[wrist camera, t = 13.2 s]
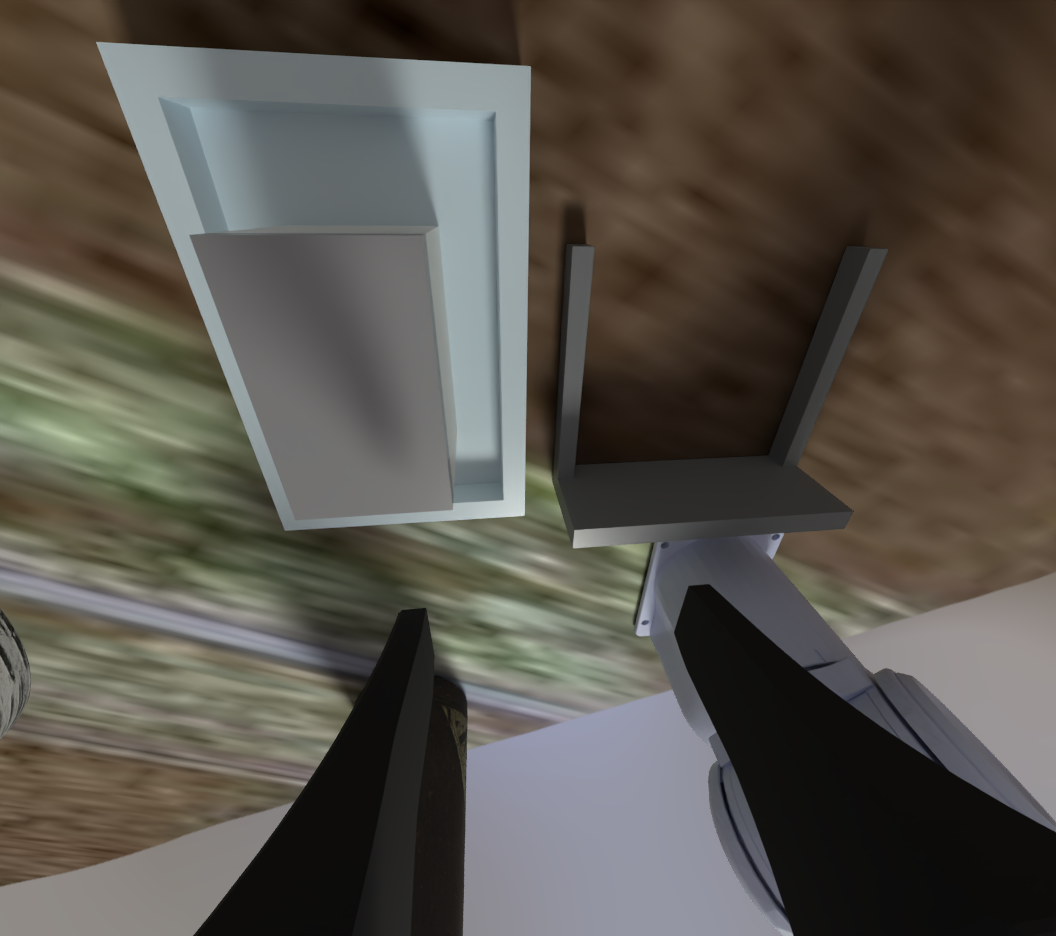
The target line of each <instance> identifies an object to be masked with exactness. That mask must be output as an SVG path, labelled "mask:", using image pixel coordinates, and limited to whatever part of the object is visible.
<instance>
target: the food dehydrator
mask: <svg viewBox="0 0 1056 936" xmlns="http://www.w3.org/2000/svg"><path fill="white" fill-rule="evenodd" d="M30 686H31V674H30V667H29V663H28V659H27V655H26V653H25V650H24V647H23V645H22V643H21V641H20V639H19V637H18V635H17V633H16V631H15V630H14V628H13V626H12V625H11V623H10V621H9V620H8V619H7V617H6V616H5V614H4V613H3V612H2V610H1V609H0V739H1V738H2V737H3V736H4V735H5V733H6V732H7V731H8V730H9V729H10V728H11V727H12V726H13V724H14V723H15V722H16V721H17V720H18V718H19V717H20V715H21V714H22V712H23V710H24V708H25V706H26V704H27V701H28V698H29V693H30Z"/></svg>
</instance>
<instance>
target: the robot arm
mask: <svg viewBox="0 0 1056 936" xmlns="http://www.w3.org/2000/svg"><path fill="white" fill-rule="evenodd" d="M783 535H784V533H778V534H764V535H750V536H736V537H722V538H709V539H695V540H681V541H667V542H665V543H664V542H655V543H654V547H653V551H652V555H651V559H650V564H649V568H648V572H647V576H646V581H645V585H644V589H643V593H642V598H641V602H640V606H639V610H638V615H637V619H636V623H635V627H634V631H635V633H636V635H638V636H649V635H650V637H651V639H652V641H653V644H654V646H655V649H656V651H657V653H658V656H659V658H660V661H661V663H662V665H663V668H664V670H665V672H666V675H667V677H668V680H669V682H670V684H671V687H672V689H673V691H674V694H675V696H676V698H677V701H678V703H679V706H680V708H681V710H682V713H683V715H684V717H685V719H686V720H687V722H688V724H689V725H690V727H691V728H692V729H693V730H694V731H695V733H696V734H697V735H698V736H699V737H700V738H701V739H702V740H703V741H704V742H705V743H706V744H707V745H709V746H710V747H711V748H712V749H713V751H714V753H715V755H716V758H717V760H718V761H716V762H715V763H714V764H713V765H712V766H711V768H710V771H709V779H708V784H709V802H710V809H711V814H712V818H713V822H714V825H715V828H716V831H717V834H718V837H719V840H720V842H721V845H722V847H723V850H724V852H725V854H726V856H727V858H728V861H729V863H730V865H731V867H732V869H733V871H734V872H735V874H736V876H737V878H738V879H739V881H740V883H741V885H742V886H743V888H744V890H745V891H746V893H747V894H748V896H749V897H750V899H751V900H752V902H753V903H754V905H755V906H756V907H757V908H758V910H759V911H760V912H761V914H762V915H763V916H764V917H765V918H766V919H767V921H769V922H770V924H771V925H772V926H773V927H774V928H776V929H777V930H778V931H779V932H780V934H781V935H782V936H1056V822H1055V821H1054V819H1053V818H1052V817H1051V816H1050V815H1049V814H1048V813H1047V812H1046V810H1045V809H1044V808H1043V807H1042V806H1041V805H1040V804H1039V803H1038V802H1037V801H1036V799H1035V798H1034V797H1033V796H1032V795H1031V794H1030V793H1029V792H1028V791H1027V790H1026V789H1025V788H1024V787H1023V785H1022V784H1021V783H1020V782H1019V781H1018V780H1017V779H1016V778H1015V777H1014V776H1013V775H1012V774H1011V773H1010V772H1009V771H1008V769H1007V768H1006V767H1005V766H1004V765H1003V764H1002V763H1001V762H1000V761H999V760H998V759H997V758H996V757H995V756H994V755H993V754H992V753H991V752H990V751H989V750H988V749H987V748H986V747H985V746H984V745H983V743H981V741H980V740H979V739H978V738H977V737H975V735H974V734H973V733H972V732H971V731H970V730H969V729H968V728H967V727H966V726H965V725H964V724H963V723H962V722H961V721H960V720H959V719H958V718H957V717H956V716H955V715H954V714H953V713H952V712H951V711H950V710H949V709H948V708H946V706H945V705H944V704H943V703H942V702H940V700H939V699H937V698H936V697H935V696H934V695H933V694H932V693H931V692H930V691H929V690H928V689H927V688H926V687H925V686H924V685H923V684H921V683H920V682H919V681H918V680H917V679H915V678H914V677H913V676H910V675H906V674H901V673H895V672H894V671H893V670H891V669H887V668H886V669H882V670H881V671H879V672H877V673H875V674H873V673H871V672H870V671H869V670H867V669H866V668H865V667H864V666H863V665H862V664H861V662H860V661H859V660H858V659H857V658H856V657H855V655H854V654H853V653H852V652H851V651H850V650H849V648H848V647H847V646H846V645H845V644H844V643H843V642H842V640H841V639H840V638H839V637H838V636H837V634H836V633H835V632H834V631H833V630H832V629H831V628H830V626H829V625H828V624H827V623H826V622H825V621H824V619H823V618H822V617H821V616H820V615H819V614H818V612H817V611H816V610H815V609H814V608H813V607H812V605H811V604H810V603H809V602H808V601H807V600H806V598H805V597H804V596H803V595H802V594H801V593H800V591H799V590H798V589H797V588H796V587H795V586H794V584H793V583H792V582H791V581H790V580H789V579H788V577H787V576H786V575H785V574H784V573H783V572H782V570H781V569H780V568H779V567H778V566H777V565H776V563H775V562H774V561H773V560H772V559H773V557H774V555H775V553H776V550H777V548H778V546H779V544H780V541H781V539H782V537H783ZM662 543H664V544H662ZM433 681H434V650H433V645H432V639H431V633H430V627H429V621H428V616H427V610H426V608H421V609H409V610H402V611H401V612H400V613H398V616H397V619H396V622H395V624H394V627H393V629H392V631H391V634H390V636H389V638H388V641H387V643H386V645H385V647H384V650H383V652H382V654H381V656H380V658H379V660H378V662H377V664H376V666H375V668H374V670H373V672H372V674H371V676H370V678H369V680H368V682H367V684H366V686H365V688H364V690H363V692H362V694H361V695H360V697H359V699H358V701H357V703H356V704H355V706H354V708H353V710H352V711H351V713H350V715H349V717H348V718H347V720H346V722H345V724H344V725H343V727H342V729H341V731H340V732H339V734H338V736H337V737H336V739H335V741H334V742H333V744H332V746H331V747H330V749H329V751H328V752H327V754H326V755H325V757H324V759H323V760H322V762H321V763H320V765H319V766H318V768H317V769H316V771H315V772H314V774H313V776H312V777H311V779H310V780H309V782H308V783H307V785H306V786H305V788H304V789H303V791H302V792H301V794H300V795H299V796H298V798H297V799H296V801H295V802H294V804H293V805H292V806H291V808H290V809H289V811H288V812H287V814H286V815H285V817H284V818H283V819H282V821H281V822H280V824H279V825H278V827H277V828H276V829H275V831H274V832H273V833H272V835H271V836H270V838H269V839H268V840H267V842H266V843H265V844H264V846H263V847H262V848H261V850H260V851H259V853H258V854H257V855H256V856H255V858H254V859H253V860H252V862H251V863H250V864H249V866H248V867H247V868H246V869H245V871H244V872H243V873H242V875H241V876H240V877H239V878H238V880H237V881H236V882H235V884H234V885H233V886H232V887H231V889H230V890H229V891H228V893H227V894H226V895H225V897H224V898H223V899H222V901H221V902H220V903H219V904H218V906H217V907H216V908H215V909H214V911H213V912H212V913H211V915H210V916H209V917H208V918H207V920H206V921H205V922H204V923H203V924H202V926H201V927H200V928H199V929H198V931H197V932H196V933H195V934H194V935H193V936H411V915H412V896H413V877H414V859H415V843H416V826H417V813H418V804H419V794H420V787H421V780H422V773H423V765H424V758H425V751H426V744H427V736H428V729H429V722H430V714H431V707H432V699H433Z"/></svg>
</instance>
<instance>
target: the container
mask: <svg viewBox="0 0 1056 936" xmlns="http://www.w3.org/2000/svg"><path fill="white" fill-rule="evenodd" d="M361 694H362V693H361ZM361 694H360V695H361ZM360 695H359V697H360ZM359 697H358V698H357V700H356V703H357V701H358V699H359ZM356 703H355V704H356ZM466 759H467V700H466V698H465V696H464V694H463V693H462V691H461V690H460V689H459V688H457V687H456V686H455V685H453V684H452V683H450V682H448V681H446V680H444V679H441V678H438V677H434V681H433V699H432V707H431V714H430V722H429V729H428V736H427V744H426V751H425V758H424V765H423V773H422V780H421V787H420V794H419V804H418V813H417V826H416V843H415V859H414V877H413V896H412V915H411V936H463V903H464V901H463V900H464V854H465V853H464V852H465V850H464V849H465V811H466V810H465V809H466Z"/></svg>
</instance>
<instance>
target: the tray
mask: <svg viewBox="0 0 1056 936" xmlns="http://www.w3.org/2000/svg"><path fill="white" fill-rule="evenodd" d="M96 43H97V46H98V48H99V51H100V54H101V56H102V59H103V61H104V64H105V66H106V69H107V72H108V74H109V77H110V79H111V82H112V85H113V87H114V90H115V92H116V95H117V98H118V100H119V103H120V105H121V108H122V110H123V113H124V116H125V118H126V121H127V123H128V126H129V129H130V131H131V134H132V136H133V139H134V142H135V144H136V147H137V149H138V152H139V154H140V157H141V160H142V162H143V165H144V167H145V170H146V173H147V175H148V178H149V180H150V183H151V186H152V188H153V191H154V193H155V196H156V198H157V201H158V204H159V206H160V209H161V211H162V214H163V217H164V219H165V222H166V224H167V227H168V230H169V232H170V235H171V237H172V240H173V242H174V245H175V248H176V250H177V253H178V255H179V258H180V261H181V263H182V266H183V268H184V271H185V274H186V276H187V279H188V281H189V284H190V286H191V289H192V292H193V294H194V297H195V299H196V302H197V305H198V307H199V310H200V312H201V315H202V318H203V320H204V323H205V325H206V328H207V330H208V333H209V336H210V338H211V341H212V343H213V346H214V349H215V351H216V354H217V356H218V359H219V362H220V364H221V367H222V369H223V372H224V374H225V377H226V380H227V382H228V385H229V387H230V390H231V393H232V395H233V398H234V400H235V403H236V406H237V408H238V411H239V413H240V416H241V418H242V421H243V424H244V426H245V429H246V431H247V434H248V437H249V439H250V442H251V444H252V447H253V450H254V452H255V455H256V457H257V460H258V462H259V465H260V468H261V470H262V473H263V475H264V478H265V481H266V483H267V486H268V488H269V491H270V494H271V496H272V499H273V501H274V504H275V506H276V509H277V512H278V514H279V517H280V519H281V522H282V525H283V527H284V530H285V531H290V530H306V529H322V528H338V527H353V526H369V525H385V524H401V523H417V522H433V521H449V520H465V519H480V518H496V517H512V516H525V449H526V378H527V306H528V235H529V163H530V92H531V66H516V65H498V64H480V63H462V62H444V61H426V60H408V59H391V58H373V57H355V56H337V55H319V54H301V53H283V52H265V51H247V50H229V49H211V48H193V47H175V46H157V45H139V44H121V43H103V42H96ZM285 225H378V226H439V235H440V246H441V257H442V268H443V279H444V290H445V300H446V311H447V322H448V333H449V344H450V355H451V366H452V377H453V388H454V399H455V410H456V421H457V443H456V462H455V480H454V498H453V510H445V511H430V512H415V513H400V514H385V515H369V516H354V517H339V518H324V519H308V520H295V518H294V516H293V513H292V510H291V507H290V505H289V502H288V499H287V497H286V494H285V491H284V489H283V486H282V483H281V481H280V478H279V475H278V473H277V470H276V467H275V464H274V462H273V459H272V456H271V454H270V451H269V448H268V446H267V443H266V440H265V438H264V435H263V432H262V430H261V427H260V424H259V421H258V419H257V416H256V413H255V411H254V408H253V405H252V403H251V400H250V397H249V395H248V392H247V389H246V387H245V384H244V381H243V378H242V376H241V373H240V370H239V368H238V365H237V362H236V360H235V357H234V354H233V352H232V349H231V346H230V344H229V341H228V338H227V335H226V333H225V330H224V327H223V325H222V322H221V319H220V317H219V314H218V311H217V309H216V306H215V303H214V301H213V298H212V295H211V292H210V290H209V287H208V284H207V282H206V279H205V276H204V274H203V271H202V268H201V266H200V263H199V260H198V258H197V255H196V252H195V249H194V247H193V244H192V241H191V239H190V236H189V235H193V234H203V233H214V232H224V231H234V230H244V229H254V228H264V227H274V226H285Z"/></svg>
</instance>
